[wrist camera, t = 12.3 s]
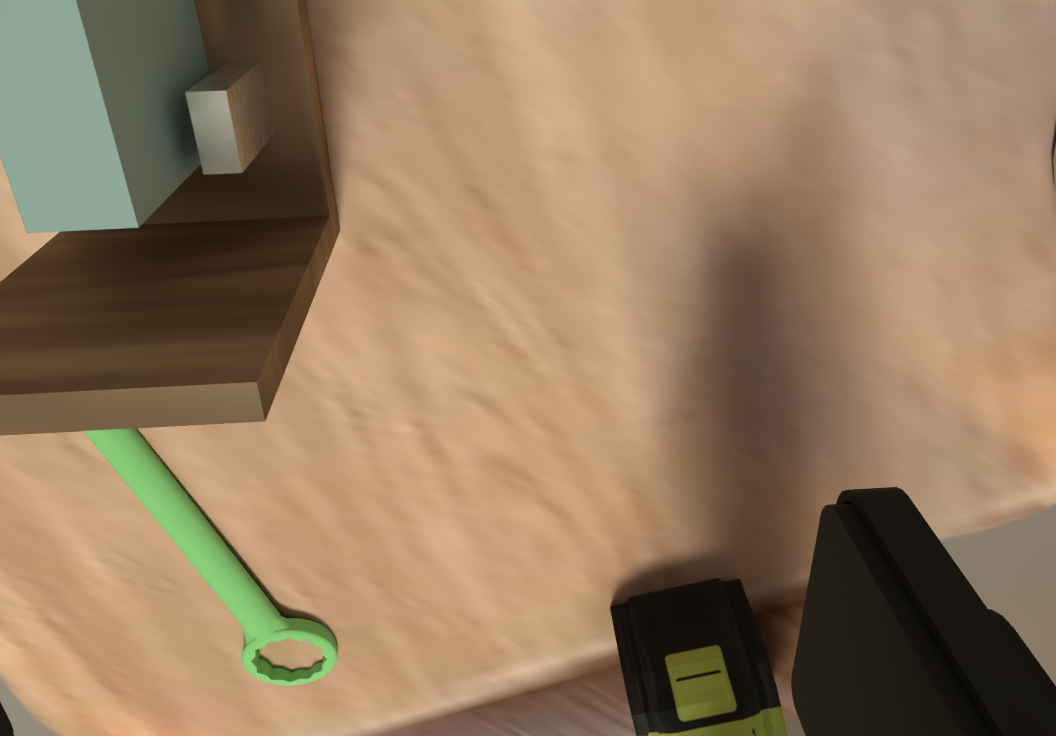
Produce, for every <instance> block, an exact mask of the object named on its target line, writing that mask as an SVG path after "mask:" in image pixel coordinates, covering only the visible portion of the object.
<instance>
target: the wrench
mask: <svg viewBox="0 0 1056 736" xmlns="http://www.w3.org/2000/svg"><path fill="white" fill-rule="evenodd" d="M84 432H85V434H86V435H87V436H88V437H89V439H90V440H91V441H92V442H93V443H94V445H95V446H96V447H97V448H98V450H99V451H100V452H101V453H102V454H103V456H104V457H105V458H106V459H107V461H108V462H109V463H110V464H111V466H112V467H113V468H114V469H115V470H116V472H117V473H118V474H119V475H120V477H121V478H122V479H123V480H124V481H125V483H126V484H127V485H128V486H129V488H130V489H131V490H132V491H133V492H134V494H135V495H136V496H137V497H138V499H139V500H140V501H141V502H142V503H143V505H144V506H145V507H146V508H147V510H148V511H149V512H150V513H151V514H152V516H153V517H154V518H155V519H156V521H157V522H158V523H159V524H160V525H161V527H162V528H163V529H164V530H165V532H166V533H167V534H168V535H169V537H170V538H171V539H172V540H173V541H174V543H175V544H176V545H177V546H178V548H179V549H180V550H181V551H182V552H183V554H184V555H185V556H186V557H187V559H188V560H189V561H190V562H191V563H192V565H193V566H194V567H195V568H196V570H197V571H198V572H199V573H200V574H201V576H202V577H203V578H204V579H205V581H206V582H207V583H208V584H209V585H210V587H211V588H212V589H213V590H214V592H215V593H216V594H217V595H218V596H219V598H220V599H221V600H222V601H223V603H224V604H225V605H226V606H227V608H228V609H229V610H230V611H231V612H232V614H233V615H234V616H235V617H236V619H237V620H238V621H239V622H240V623H241V625H242V626H243V630H244V636H245V641H244V645H243V652H242V663H243V665H244V667H245V669H246V670H247V671H248V672H249V673H250V674H251V675H253V676H254V677H256V678H258V679H260V680H262V681H265V682H268V683H272V684H277V685H299V684H305V683H308V682H312V681H315V680H317V679H319V678H321V677H323V676H324V675H326V674H327V673H328V672H329V671H330V670H331V669H332V668H333V667H334V665H335V663H336V660H337V644H336V640H335V638H334V636H333V635H332V633H331V632H330V631H329V630H328V629H327V628H326V627H325V626H323V625H321V624H319V623H317V622H314V621H311V620H306V619H299V618H285V617H283V616H281V615H280V613H279V612H278V611H277V609H276V608H275V607H274V606H273V604H272V603H271V602H270V600H269V599H268V598H267V597H266V595H265V594H264V593H263V591H262V590H261V589H260V588H259V586H258V585H257V584H256V582H255V581H254V580H253V579H252V577H251V576H250V575H249V574H248V572H247V571H246V570H245V568H244V567H243V566H242V565H241V563H240V562H239V561H238V559H237V558H236V557H235V556H234V554H233V553H232V552H231V550H230V549H229V548H228V547H227V545H226V544H225V543H224V541H223V540H222V539H221V538H220V536H219V535H218V534H217V532H216V531H215V530H214V529H213V527H212V526H211V525H210V523H209V522H208V521H207V520H206V518H205V517H204V516H203V514H202V513H201V512H200V511H199V509H198V508H197V507H196V505H195V504H194V503H193V502H192V500H191V499H190V498H189V497H188V495H187V494H186V493H185V491H184V490H183V489H182V488H181V486H180V485H179V484H178V482H177V481H176V480H175V479H174V477H173V476H172V475H171V473H170V472H169V471H168V470H167V468H166V467H165V466H164V464H163V463H162V462H161V461H160V459H159V458H158V457H157V455H156V454H155V453H154V452H153V450H152V449H151V448H150V447H149V445H148V444H147V443H146V441H145V440H144V439H143V438H142V436H141V435H140V434H139V433H138V431H137V430H136V429H135V428H131V429H112V430H94V431H84ZM287 638H290V639H293V640H296V641H309V642H310V643H311V644H312V645H313V646H316V647H319V648H322V655H323V661H322V662H319V663H316V664H314V665H313V666H312V668H311V669H310V670H304V669H299V670H296V671H293V672H290V671H287V670H285V669H283V668H273V667H272V666H271V665H270V664H269V663H268V662H267V661H265V660H262V659H260V658H259V651H258V650H257V649H260V648H263V647H264V646H265V645H266V644H267V643H268V642H272V641H282V640H284V639H287Z"/></svg>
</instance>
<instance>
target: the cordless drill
mask: <svg viewBox="0 0 1056 736" xmlns="http://www.w3.org/2000/svg"><path fill="white" fill-rule="evenodd" d="M610 609H611V615H612V620H613V626H614V631H615V636H616V642H617V647H618V652H619V657H620V662H621V668H622V673H623V678H624V683H625V687H626V692H627V697H628V701H629V706H630V711H631V715H632V719H633V724H634V728H635V732H636V736H787V732H786V726H785V722H784V717H783V713H782V709H781V704H780V700H779V695H778V691H777V687H776V683H775V680H774V677H773V673H772V670H771V667H770V663H769V660H768V657H767V653H766V650H765V647H764V644H763V641H762V638H761V636H760V633H759V630H758V627H757V624H756V621H755V619H754V616H753V613H752V610H751V608H750V605H749V602H748V600H747V597H746V594H745V592H744V589H743V587H742V584H741V581H740V579H738V580H734V581H729V582H720V581H719V578H717V579H713V580H708V581H703V582H699V583H694V584H690V585H685V586H680V587H676V588H671V589H666V590H662V591H657V592H653V593H648V594H643V595H639V596H634V597H630V598H629V601H628V602H627V603H625V604H622V605H618V606H613V607H610Z"/></svg>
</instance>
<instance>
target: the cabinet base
mask: <svg viewBox="0 0 1056 736" xmlns="http://www.w3.org/2000/svg"><path fill="white" fill-rule="evenodd" d="M194 2H195V7H196V11H197V16H198V21H199V26H200V30H201V35H202V40H203V45H204V49H205V54H206V59H207V64H208V68H209V73H210V75H208V76H207V77H206V78H204V79H203V80H201V81H200V82H199V83H197V84H196V85H194V86H193V87H192V88H190V89H189V90H187V91H186V92H185V94H186V98H187V103H188V107H189V112H190V116H191V121H192V125H193V130H194V134H195V139H196V143H197V147H198V152H199V156H200V161H201V164H200V165H199V166H198V167H197V168H196V169H195V171H194V172H193V173H192V174H191V175H190V176H189V177H188V178H187V179H186V180H185V181H184V182H183V183H182V184H181V185H180V186H179V187H178V188H177V189H176V190H175V191H174V192H173V193H172V194H171V195H170V196H169V197H168V198H167V199H166V200H165V201H164V202H163V203H162V204H161V205H160V206H159V207H158V208H157V209H156V210H155V211H154V212H153V213H152V214H151V215H150V216H149V217H148V218H147V219H146V220H145V222H144V223H143V224H142V225H141V226H140V227H139V228H121V229H100V230H80V231H61V232H59V233H58V234H57V235H56V236H55V237H53V238H52V239H51V240H50V241H49V242H47V243H46V244H45V245H44V246H43V247H42V248H40V249H39V250H38V251H37V252H36V253H34V254H33V255H32V256H31V257H30V258H28V259H27V260H26V261H25V262H24V263H22V264H21V265H20V266H19V267H18V268H16V269H15V270H14V271H13V272H12V273H10V274H9V275H8V276H7V277H6V278H5V279H3V280H2V281H1V282H0V435H19V434H38V433H56V432H75V431H94V430H112V429H131V428H150V427H168V426H187V425H205V424H224V423H243V422H261V421H265V420H266V418H267V415H268V413H269V410H270V408H271V405H272V403H273V400H274V397H275V395H276V392H277V390H278V387H279V385H280V382H281V380H282V377H283V375H284V372H285V369H286V367H287V364H288V362H289V359H290V357H291V354H292V352H293V349H294V346H295V344H296V341H297V339H298V336H299V334H300V331H301V329H302V326H303V324H304V321H305V318H306V316H307V313H308V311H309V308H310V306H311V303H312V301H313V298H314V296H315V293H316V290H317V288H318V285H319V283H320V280H321V278H322V275H323V273H324V270H325V267H326V265H327V262H328V260H329V257H330V255H331V252H332V250H333V247H334V245H335V242H336V239H337V237H338V234H339V232H340V231H339V224H338V217H337V210H336V204H335V197H334V190H333V183H332V177H331V170H330V163H329V156H328V150H327V143H326V136H325V129H324V123H323V116H322V109H321V102H320V95H319V89H318V82H317V75H316V68H315V62H314V55H313V48H312V41H311V35H310V28H309V21H308V14H307V8H306V1H305V0H194Z"/></svg>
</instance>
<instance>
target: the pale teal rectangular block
mask: <svg viewBox="0 0 1056 736" xmlns="http://www.w3.org/2000/svg"><path fill="white" fill-rule="evenodd" d="M208 75H210V73H209V68H208V64H207V59H206V54H205V49H204V45H203V40H202V35H201V30H200V26H199V21H198V16H197V11H196V7H195V2H194V0H0V157H1V160H2V163H3V166H4V169H5V172H6V175H7V178H8V181H9V184H10V186H11V189H12V192H13V195H14V198H15V201H16V204H17V207H18V210H19V213H20V215H21V218H22V221H23V224H24V227H25V230H26V233H39V232H60V231H80V230H100V229H121V228H139V227H140V226H141V225H142V224H143V223H144V222H145V220H146V219H147V218H148V217H149V216H150V215H151V214H152V213H153V212H154V211H155V210H156V209H157V208H158V207H159V206H160V205H161V204H162V203H163V202H164V201H165V200H166V199H167V198H168V197H169V196H170V195H171V194H172V193H173V192H174V191H175V190H176V189H177V188H178V187H179V186H180V185H181V184H182V183H183V182H184V181H185V180H186V179H187V178H188V177H189V176H190V175H191V174H192V173H193V172H194V171H195V169H196V168H197V167H198V166H199V165H200V164H201V161H200V156H199V152H198V147H197V143H196V139H195V134H194V130H193V125H192V121H191V116H190V112H189V107H188V103H187V98H186V94H185V92H186V91H187V90H189V89H190V88H192V87H193V86H194V85H196V84H197V83H199V82H200V81H201V80H203V79H204V78H206V77H207V76H208Z"/></svg>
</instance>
